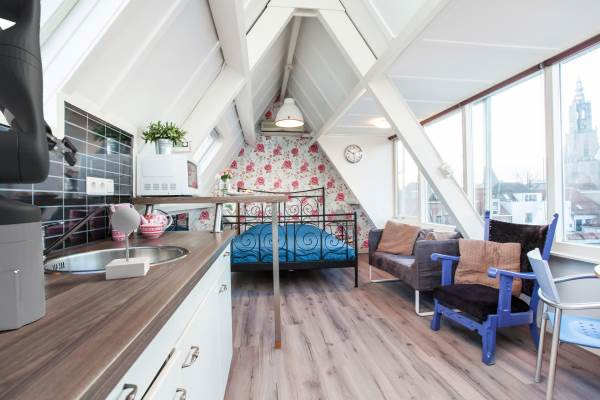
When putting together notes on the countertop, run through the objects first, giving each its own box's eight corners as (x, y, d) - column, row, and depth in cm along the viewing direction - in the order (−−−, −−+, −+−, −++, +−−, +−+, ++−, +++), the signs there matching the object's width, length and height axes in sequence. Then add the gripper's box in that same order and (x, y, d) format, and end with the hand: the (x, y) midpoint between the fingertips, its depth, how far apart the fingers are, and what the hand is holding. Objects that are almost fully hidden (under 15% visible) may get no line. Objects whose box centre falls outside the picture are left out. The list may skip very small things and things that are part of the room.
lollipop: (116, 259, 86) (114, 207, 86) (144, 257, 89) (142, 206, 88) (109, 265, 80) (106, 208, 79) (139, 262, 82) (137, 207, 81)
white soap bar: (144, 275, 81) (144, 263, 81) (106, 279, 79) (105, 266, 78) (149, 268, 90) (149, 256, 90) (114, 271, 87) (114, 259, 87)
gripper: (-1, 105, 75) (29, 148, 71) (62, 118, 89) (90, 154, 85) (-12, 129, 77) (17, 172, 73) (51, 138, 91) (78, 174, 87)
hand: (56, 162), depth 79 cm, fingers open, 8 cm apart
